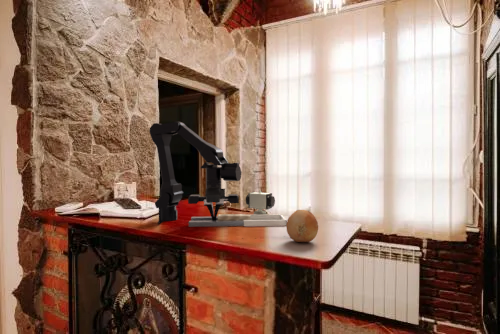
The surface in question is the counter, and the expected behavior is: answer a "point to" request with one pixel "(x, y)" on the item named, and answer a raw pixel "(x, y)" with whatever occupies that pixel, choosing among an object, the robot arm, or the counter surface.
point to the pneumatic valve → (260, 201)
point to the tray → (266, 220)
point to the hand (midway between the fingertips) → (214, 221)
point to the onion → (302, 226)
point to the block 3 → (244, 217)
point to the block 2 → (233, 216)
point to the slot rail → (213, 222)
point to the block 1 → (222, 216)
